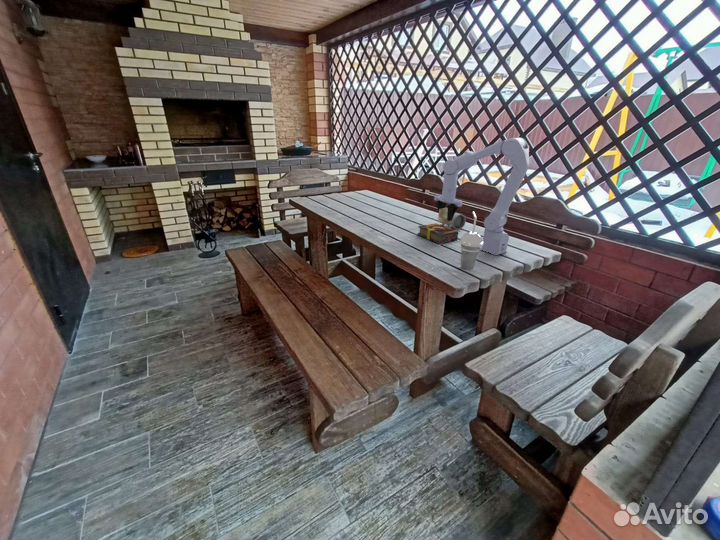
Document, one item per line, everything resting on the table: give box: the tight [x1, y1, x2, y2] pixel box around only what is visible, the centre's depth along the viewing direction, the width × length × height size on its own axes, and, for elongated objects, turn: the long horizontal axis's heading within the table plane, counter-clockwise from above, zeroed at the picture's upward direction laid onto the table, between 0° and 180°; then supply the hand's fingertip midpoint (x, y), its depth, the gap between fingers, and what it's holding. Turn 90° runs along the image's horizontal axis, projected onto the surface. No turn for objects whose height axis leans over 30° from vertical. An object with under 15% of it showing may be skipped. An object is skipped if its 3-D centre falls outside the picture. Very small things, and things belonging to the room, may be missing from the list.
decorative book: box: [417, 222, 459, 245], centre depth 152 cm, size 11×16×5 cm
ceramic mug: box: [441, 212, 467, 230], centre depth 166 cm, size 11×8×8 cm
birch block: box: [437, 207, 453, 225], centre depth 147 cm, size 4×4×6 cm
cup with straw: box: [458, 211, 484, 271], centre depth 118 cm, size 8×9×20 cm
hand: (445, 219), depth 148 cm, fingers closed on birch block, 4 cm apart
